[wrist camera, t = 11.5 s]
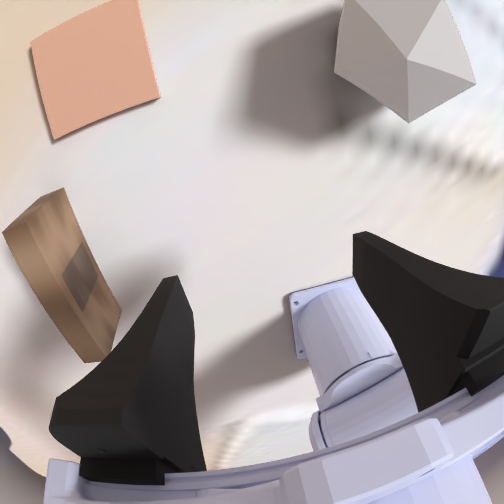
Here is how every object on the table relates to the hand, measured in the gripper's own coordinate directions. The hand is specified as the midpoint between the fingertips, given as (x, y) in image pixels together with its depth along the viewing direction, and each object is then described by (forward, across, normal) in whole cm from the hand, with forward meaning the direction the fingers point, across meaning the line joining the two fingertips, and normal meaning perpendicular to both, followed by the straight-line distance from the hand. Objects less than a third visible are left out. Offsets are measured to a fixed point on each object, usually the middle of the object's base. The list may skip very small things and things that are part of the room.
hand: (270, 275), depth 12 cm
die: (+11, -11, -9) cm, 18 cm away
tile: (+10, +8, -8) cm, 15 cm away
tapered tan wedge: (+11, +14, +2) cm, 18 cm away
